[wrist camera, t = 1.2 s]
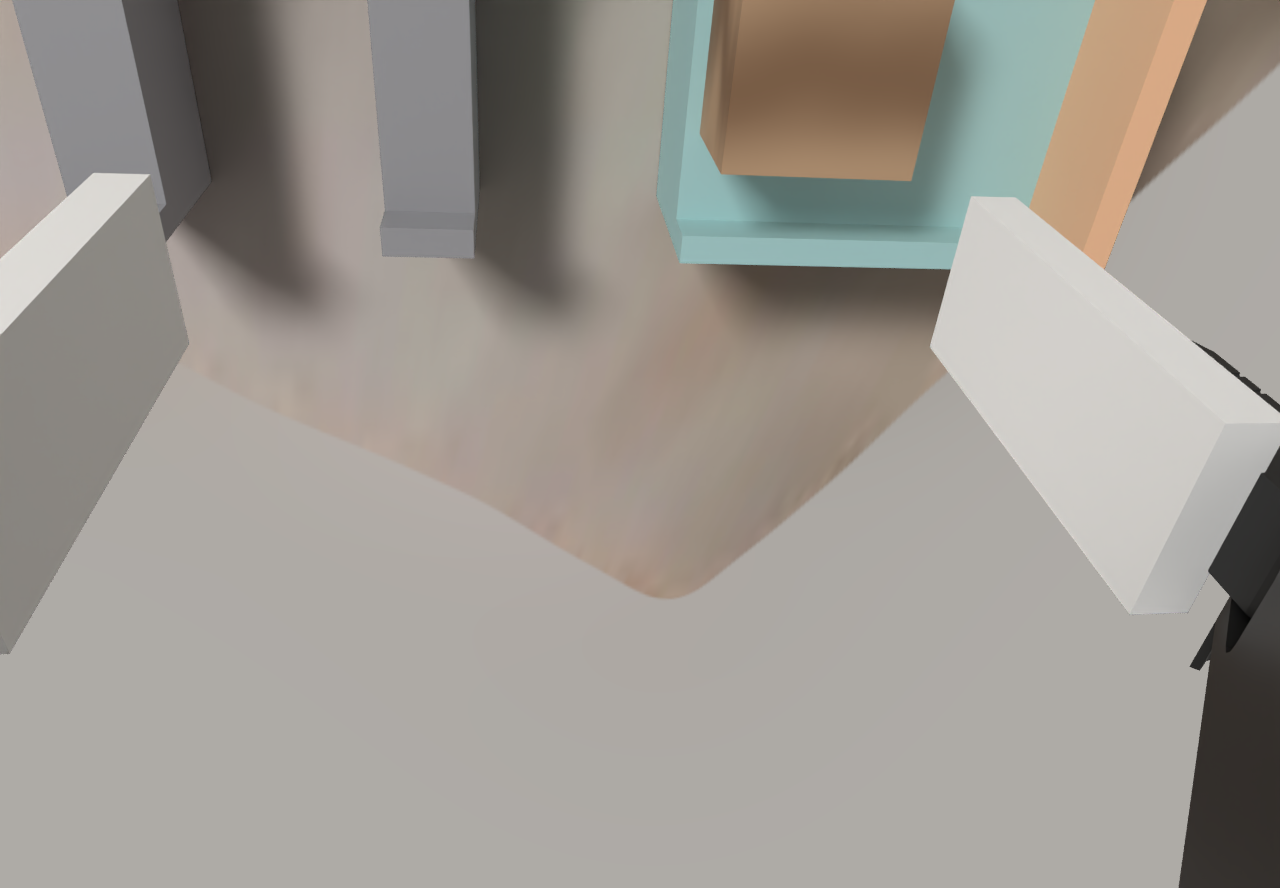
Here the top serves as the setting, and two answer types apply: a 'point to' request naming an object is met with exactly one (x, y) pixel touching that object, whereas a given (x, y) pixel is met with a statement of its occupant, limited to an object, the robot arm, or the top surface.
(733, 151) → the walnut block
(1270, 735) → the robot arm
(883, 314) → the top surface
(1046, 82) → the gap walkway
